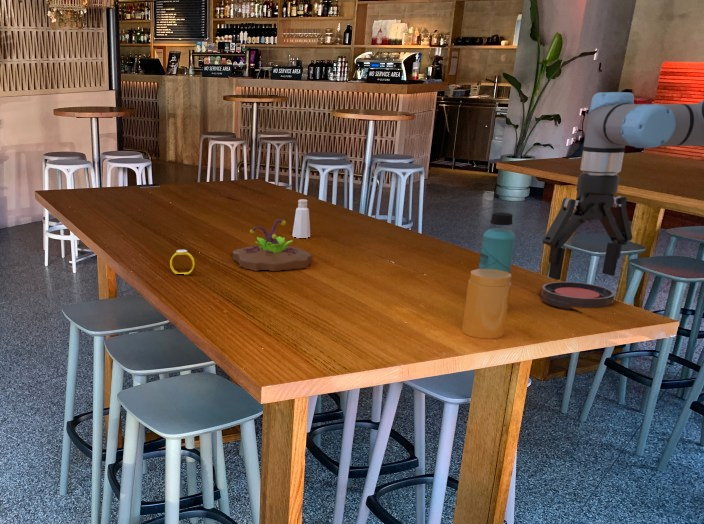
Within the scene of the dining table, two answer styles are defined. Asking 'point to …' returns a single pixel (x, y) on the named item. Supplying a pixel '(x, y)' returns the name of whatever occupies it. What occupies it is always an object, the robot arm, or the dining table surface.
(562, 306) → the dark grey ring
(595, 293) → the cap
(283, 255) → the plant
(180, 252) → the gold ring with gem
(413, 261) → the dining table surface
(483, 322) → the jar
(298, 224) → the pepper shaker
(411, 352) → the dining table surface
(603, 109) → the robot arm
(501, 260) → the beverage bottle
